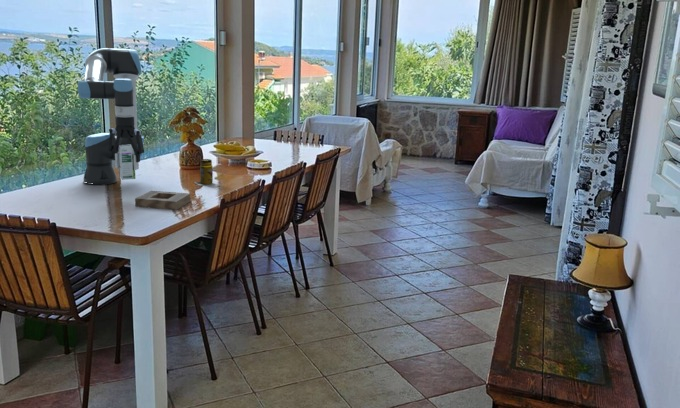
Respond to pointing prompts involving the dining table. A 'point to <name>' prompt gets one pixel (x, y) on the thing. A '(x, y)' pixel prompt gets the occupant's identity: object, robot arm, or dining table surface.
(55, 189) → the dining table surface
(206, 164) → the condiment
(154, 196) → the walnut socket block
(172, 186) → the dining table surface
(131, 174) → the syrup box
